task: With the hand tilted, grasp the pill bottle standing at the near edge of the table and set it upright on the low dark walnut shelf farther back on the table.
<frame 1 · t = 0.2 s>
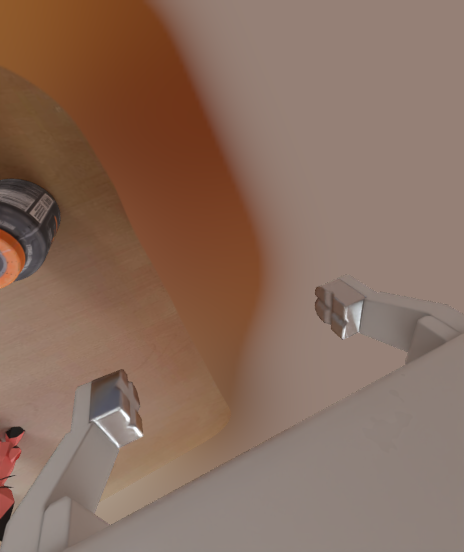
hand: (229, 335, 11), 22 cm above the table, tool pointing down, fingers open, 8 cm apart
pill bottle: (24, 210, 25), on the table
cat figurine: (3, 438, 36), on the table
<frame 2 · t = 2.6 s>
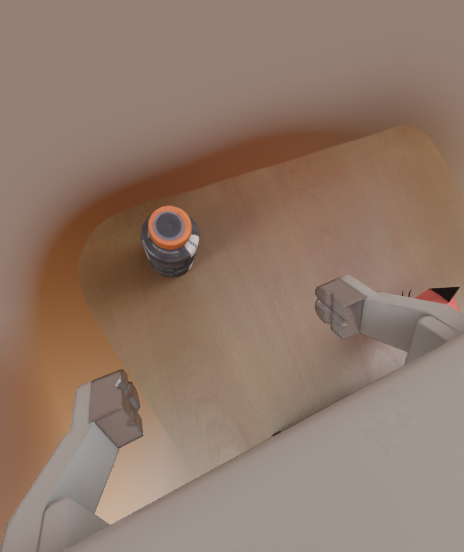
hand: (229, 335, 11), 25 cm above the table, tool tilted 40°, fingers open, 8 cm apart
pill bottle: (172, 256, 36), on the table
cat figurine: (381, 317, 41), on the table
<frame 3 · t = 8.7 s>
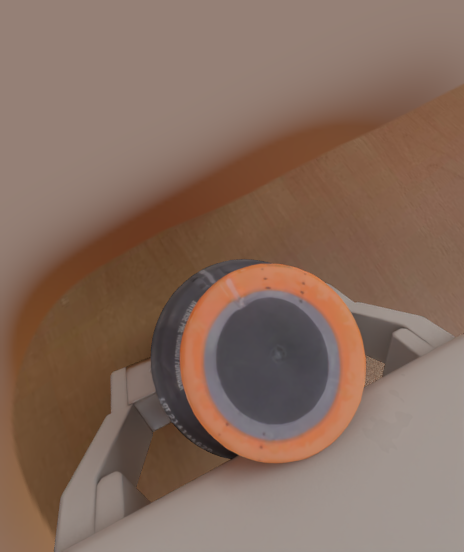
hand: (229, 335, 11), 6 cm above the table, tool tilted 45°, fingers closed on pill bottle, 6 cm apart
pill bottle: (221, 346, 16), on the table, touching gripper
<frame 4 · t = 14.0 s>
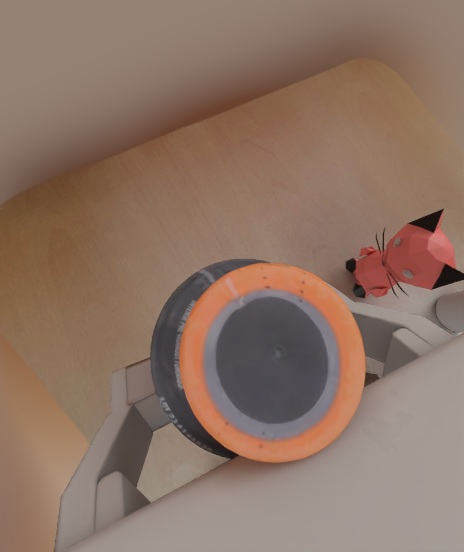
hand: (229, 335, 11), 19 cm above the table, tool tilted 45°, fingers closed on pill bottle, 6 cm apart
pill bottle: (221, 346, 16), point 13 cm above the table, touching gripper
cat figurine: (362, 277, 33), on the table
beverage can: (448, 312, 34), on the table
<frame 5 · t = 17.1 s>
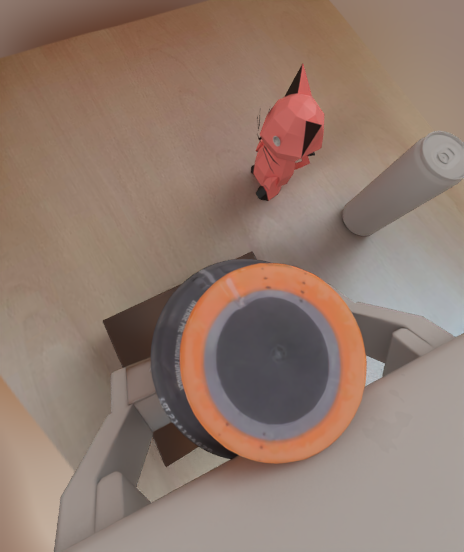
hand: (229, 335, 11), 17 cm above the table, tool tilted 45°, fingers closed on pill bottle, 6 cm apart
pill bottle: (221, 346, 16), point 11 cm above the table, touching gripper
cat figurine: (268, 182, 33), on the table
beverage can: (357, 220, 33), on the table
shelf: (209, 345, 27), on the table
when the fingers open (11 cm above the table, at t = 19.4 s): pill bottle stays where it is, resting on shelf.
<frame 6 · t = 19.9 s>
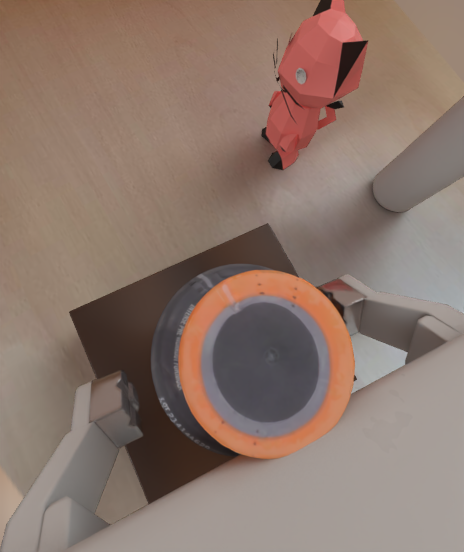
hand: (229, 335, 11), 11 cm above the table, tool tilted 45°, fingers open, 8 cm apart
pill bottle: (219, 347, 17), point 5 cm above the table, touching shelf
cat figurine: (282, 148, 27), on the table
beverage can: (389, 194, 28), on the table
shelf: (213, 345, 21), on the table
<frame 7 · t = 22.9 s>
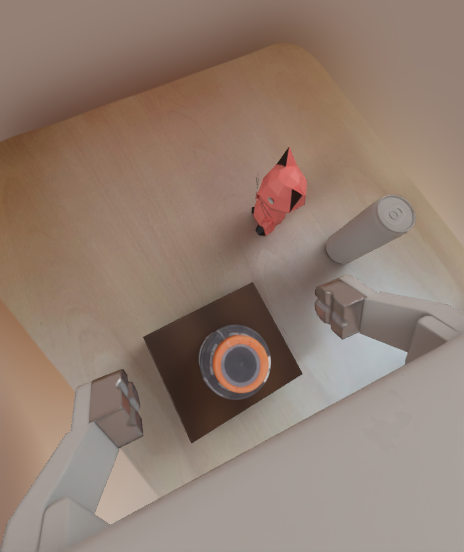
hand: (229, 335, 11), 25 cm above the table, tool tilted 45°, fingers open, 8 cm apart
pill bottle: (224, 356, 30), point 5 cm above the table, touching shelf
cat figurine: (265, 220, 40), on the table
beverage can: (338, 250, 41), on the table
shelf: (220, 354, 35), on the table
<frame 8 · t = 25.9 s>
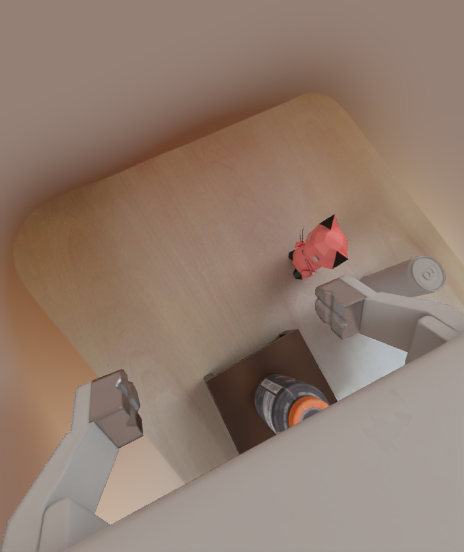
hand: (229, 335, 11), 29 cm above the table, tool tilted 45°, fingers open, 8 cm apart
pill bottle: (276, 398, 34), point 5 cm above the table, touching shelf
cat figurine: (301, 264, 44), on the table
beverage can: (367, 291, 45), on the table
shelf: (265, 391, 38), on the table
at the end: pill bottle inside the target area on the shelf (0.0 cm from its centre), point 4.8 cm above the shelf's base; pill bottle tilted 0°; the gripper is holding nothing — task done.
